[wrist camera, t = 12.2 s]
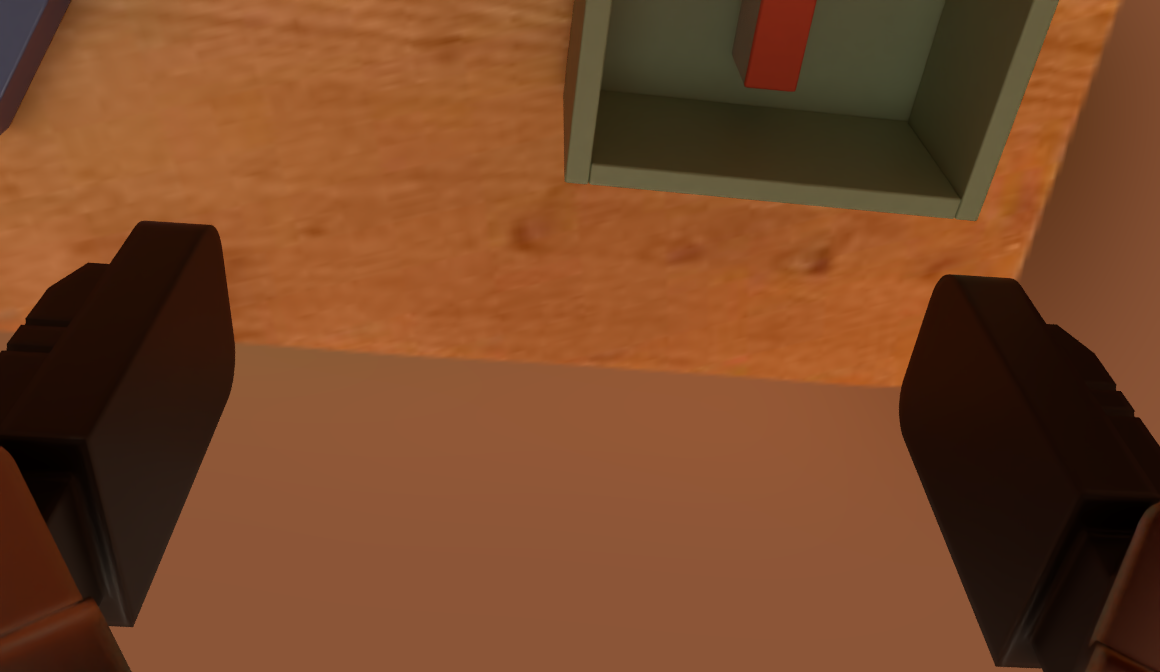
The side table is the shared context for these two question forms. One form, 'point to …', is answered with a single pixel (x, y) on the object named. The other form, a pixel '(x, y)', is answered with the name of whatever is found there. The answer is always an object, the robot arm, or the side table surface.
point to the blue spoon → (23, 47)
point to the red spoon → (772, 42)
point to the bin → (802, 102)
